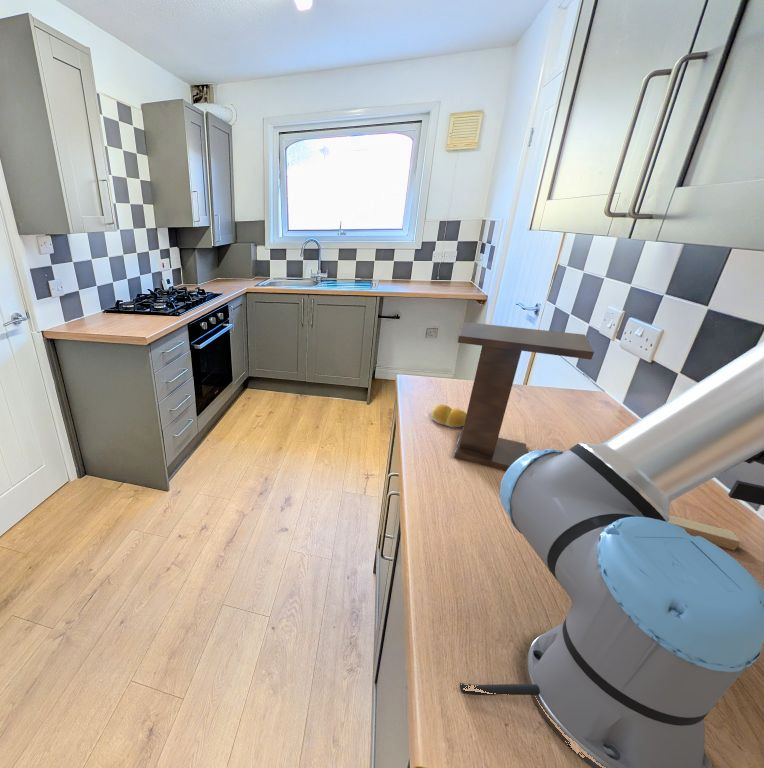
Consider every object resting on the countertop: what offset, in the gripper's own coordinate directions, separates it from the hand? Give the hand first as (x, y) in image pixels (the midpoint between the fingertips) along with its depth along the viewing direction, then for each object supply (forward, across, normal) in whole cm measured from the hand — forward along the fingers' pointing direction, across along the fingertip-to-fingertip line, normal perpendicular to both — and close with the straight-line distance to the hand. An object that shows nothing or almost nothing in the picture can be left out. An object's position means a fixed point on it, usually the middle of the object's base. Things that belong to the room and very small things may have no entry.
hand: (714, 465), depth 63 cm
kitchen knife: (+9, 0, -14) cm, 16 cm away
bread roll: (+40, +23, -14) cm, 49 cm away
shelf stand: (+30, +11, -14) cm, 35 cm away
